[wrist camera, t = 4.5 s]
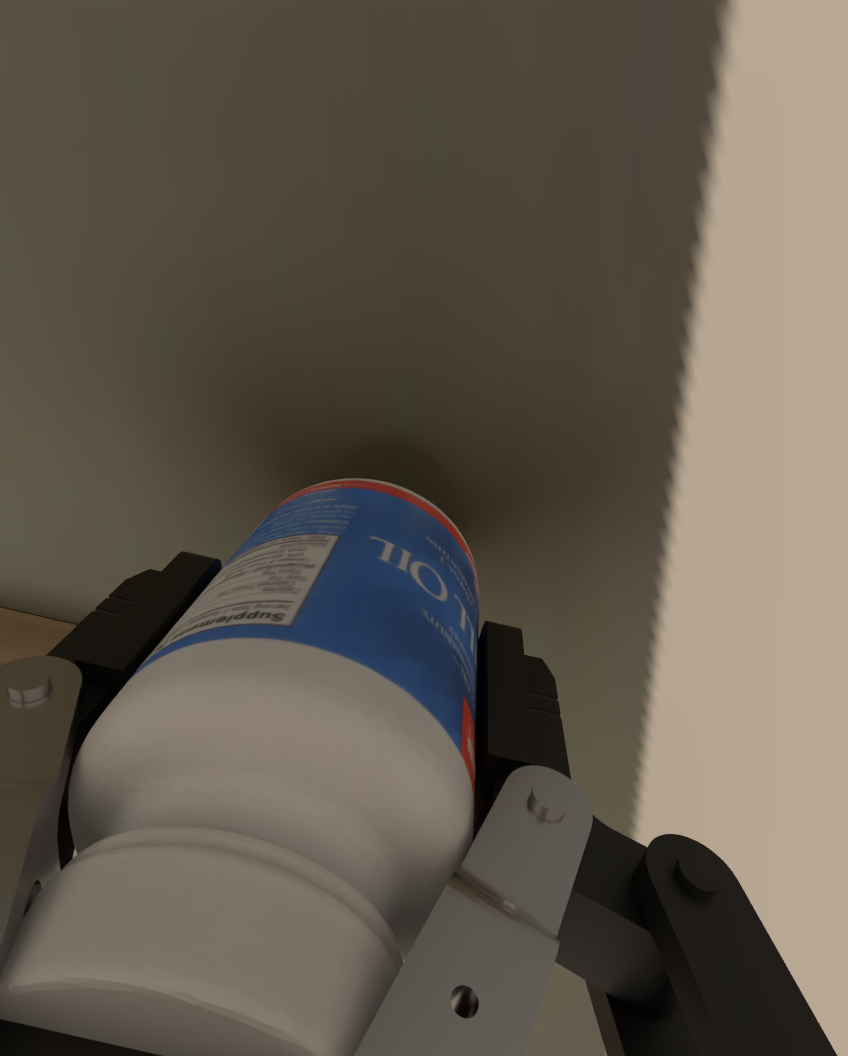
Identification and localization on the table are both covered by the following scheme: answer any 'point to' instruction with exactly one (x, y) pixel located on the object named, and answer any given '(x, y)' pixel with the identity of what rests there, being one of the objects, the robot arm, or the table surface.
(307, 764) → the pill bottle
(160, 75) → the table surface
